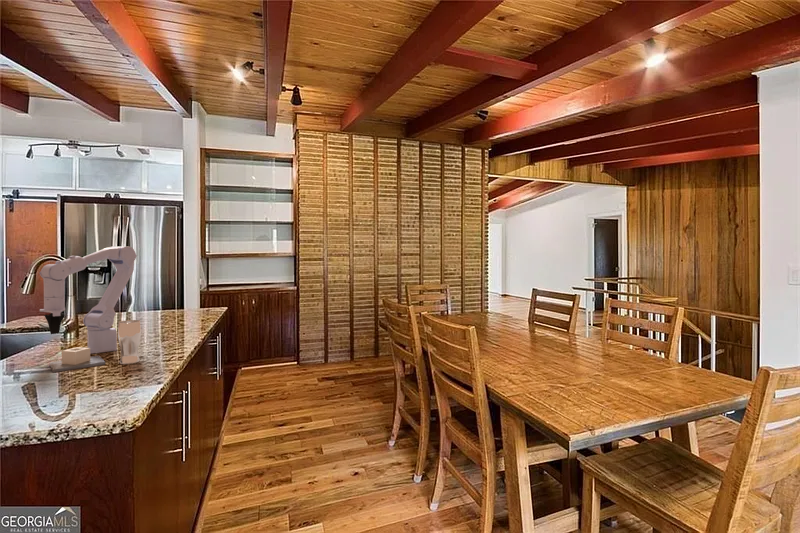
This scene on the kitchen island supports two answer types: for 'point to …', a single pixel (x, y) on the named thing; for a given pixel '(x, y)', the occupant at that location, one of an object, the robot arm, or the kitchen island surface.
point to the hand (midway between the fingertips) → (54, 333)
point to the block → (75, 355)
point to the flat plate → (59, 366)
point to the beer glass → (129, 341)
